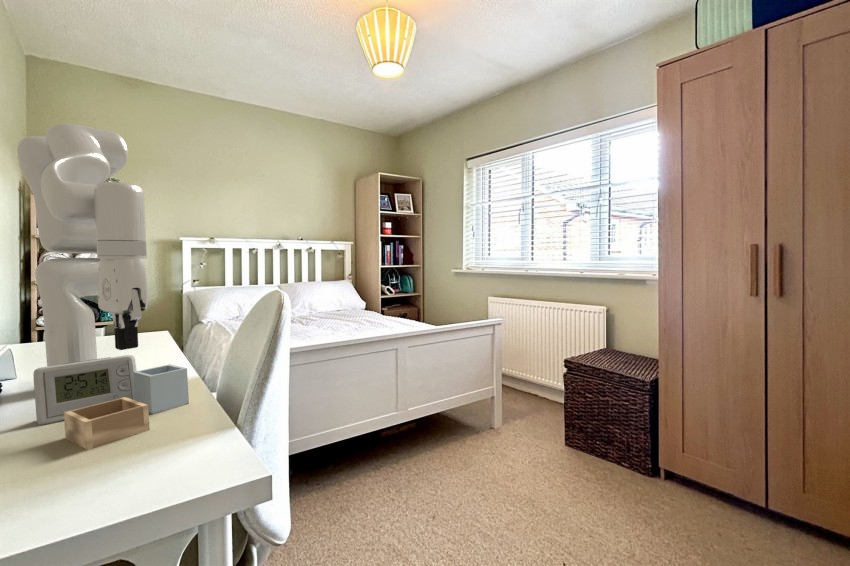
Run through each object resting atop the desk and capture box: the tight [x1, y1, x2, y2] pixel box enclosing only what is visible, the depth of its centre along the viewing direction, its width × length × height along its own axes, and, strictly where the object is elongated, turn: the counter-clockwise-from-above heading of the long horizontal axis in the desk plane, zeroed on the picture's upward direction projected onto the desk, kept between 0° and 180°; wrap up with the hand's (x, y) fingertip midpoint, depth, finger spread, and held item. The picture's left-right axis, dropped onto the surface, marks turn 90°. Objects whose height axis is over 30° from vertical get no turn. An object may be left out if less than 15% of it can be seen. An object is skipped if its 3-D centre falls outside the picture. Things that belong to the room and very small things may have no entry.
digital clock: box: [32, 354, 138, 426], centre depth 84 cm, size 16×9×11 cm, turn 122°
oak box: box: [64, 397, 151, 451], centre depth 72 cm, size 9×9×5 cm
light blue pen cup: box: [133, 364, 190, 415], centre depth 86 cm, size 7×7×8 cm
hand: (127, 348), depth 80 cm, fingers closed
